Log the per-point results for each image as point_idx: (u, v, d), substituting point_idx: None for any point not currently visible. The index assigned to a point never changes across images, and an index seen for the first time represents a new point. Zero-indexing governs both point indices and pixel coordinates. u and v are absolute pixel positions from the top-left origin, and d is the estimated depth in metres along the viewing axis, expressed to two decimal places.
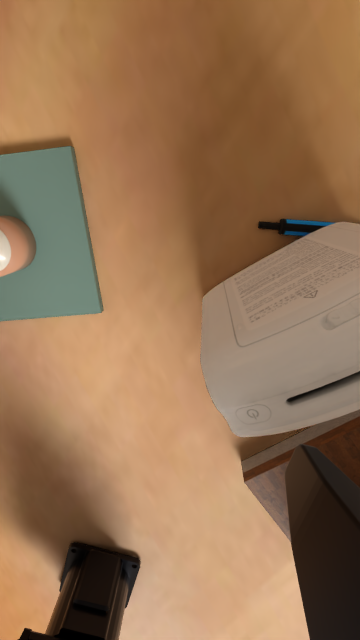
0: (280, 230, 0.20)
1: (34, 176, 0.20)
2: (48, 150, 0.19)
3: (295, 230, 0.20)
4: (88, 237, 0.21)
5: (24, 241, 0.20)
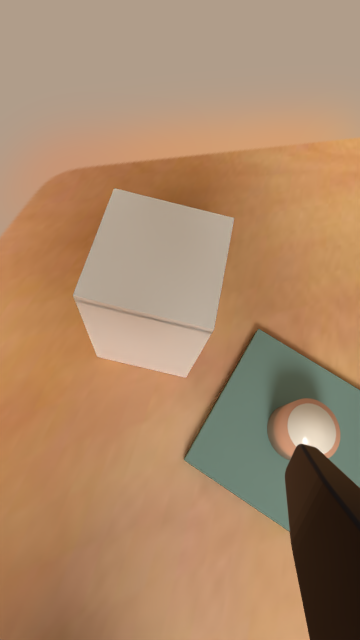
0: None
1: (349, 404, 0.22)
2: None
3: None
4: None
5: None
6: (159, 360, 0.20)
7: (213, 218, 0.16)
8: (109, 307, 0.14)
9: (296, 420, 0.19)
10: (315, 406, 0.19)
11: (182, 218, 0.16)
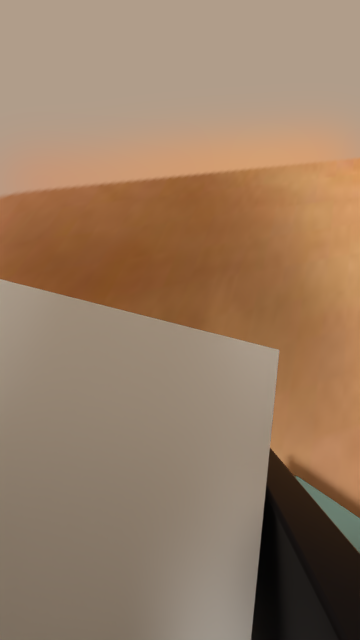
0: None
1: None
2: None
3: None
4: None
5: None
6: None
7: (229, 353, 0.06)
8: None
9: None
10: None
11: (150, 357, 0.06)
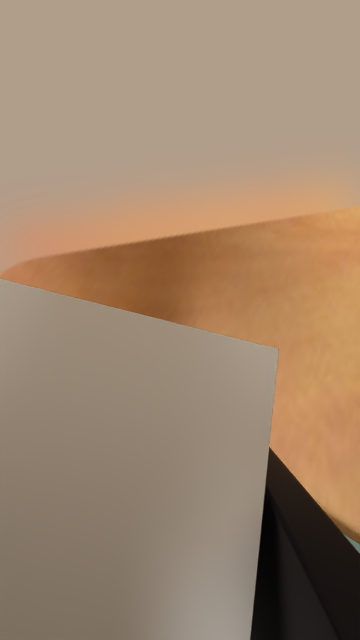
0: None
1: None
2: None
3: None
4: None
5: None
6: None
7: (229, 352, 0.06)
8: None
9: None
10: None
11: (149, 356, 0.06)
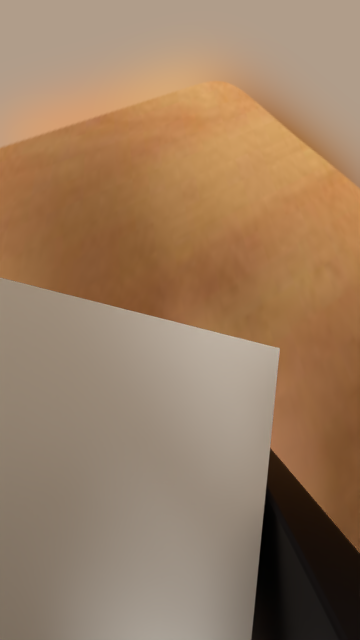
0: None
1: None
2: None
3: None
4: None
5: None
6: None
7: (230, 351, 0.06)
8: None
9: None
10: None
11: (150, 355, 0.06)
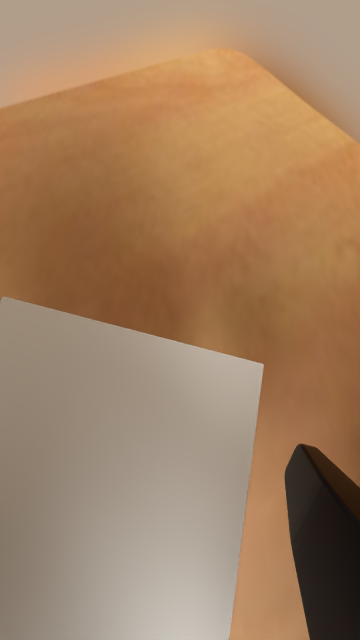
0: None
1: None
2: None
3: None
4: None
5: None
6: None
7: (220, 366, 0.07)
8: None
9: None
10: None
11: (149, 370, 0.07)
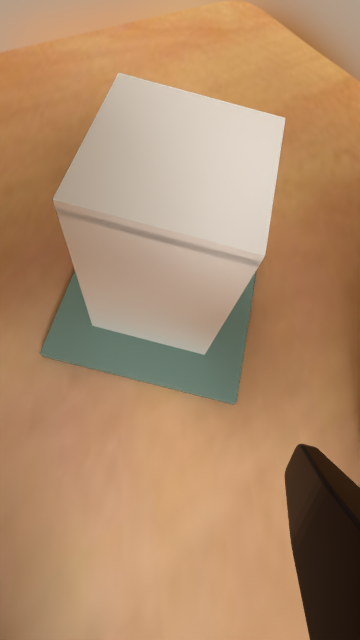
0: None
1: None
2: None
3: None
4: None
5: None
6: (173, 326, 0.15)
7: (257, 116, 0.11)
8: (107, 222, 0.09)
9: None
10: None
11: (213, 113, 0.11)
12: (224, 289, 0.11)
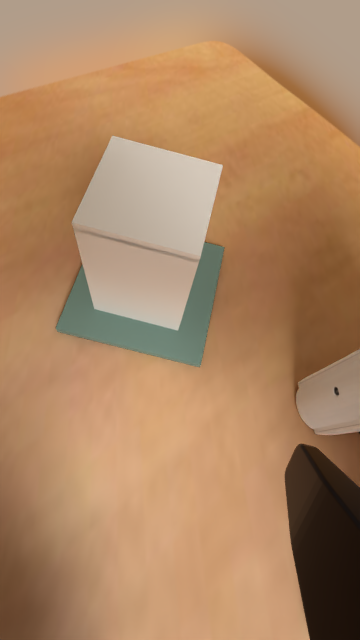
0: None
1: None
2: (208, 243, 0.27)
3: None
4: (212, 303, 0.25)
5: None
6: (152, 307, 0.21)
7: (204, 164, 0.17)
8: (105, 235, 0.15)
9: None
10: None
11: (174, 163, 0.17)
12: (181, 278, 0.17)
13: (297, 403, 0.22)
